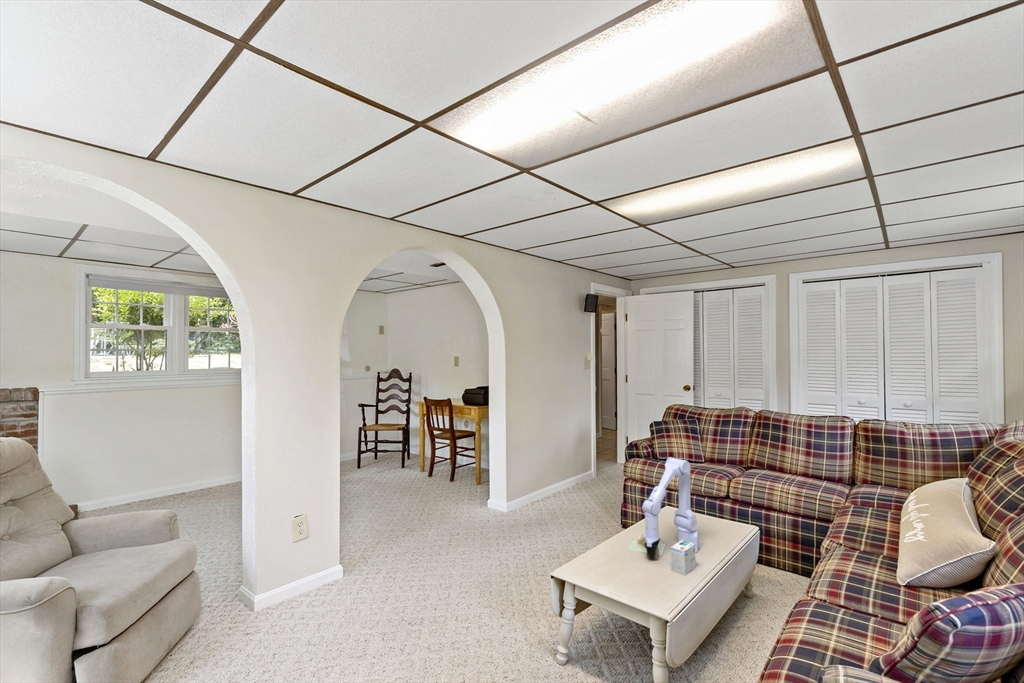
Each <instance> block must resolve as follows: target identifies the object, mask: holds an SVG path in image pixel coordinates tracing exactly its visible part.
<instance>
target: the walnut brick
mask: <svg viewBox="0 0 1024 683" xmlns="http://www.w3.org/2000/svg"><path fill="white" fill-rule="evenodd" d="M659 557H660V555H659V549H658V548H656V550H655V557H654V560H652V559H649V556H648V552H647V553H646V560H651V561H658V559H659Z"/></svg>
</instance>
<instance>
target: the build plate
mask: <svg viewBox="0 0 1024 683" xmlns="http://www.w3.org/2000/svg"><path fill="white" fill-rule="evenodd" d="M666 546H667V543H660V542H659V544H658V549H659V556H662V554H663V552H664V551H665V548H666ZM626 551H631V552H632V551H633V552H637V553H643V554H647V549H646V548H640V547H637V538H636V539H634V538H633V539H632V541H631V542H630V543H629V545H628V547H627V549H626Z"/></svg>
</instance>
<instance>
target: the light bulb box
mask: <svg viewBox="0 0 1024 683" xmlns="http://www.w3.org/2000/svg"><path fill="white" fill-rule="evenodd" d="M696 562H697V561H696V552H695V543H691V542H688V541H684V540H680V541H679V542H678V541H677V542H676V543H675V544H673V545H672V546H670V567H671V569H670V570H671V572H672V573H673V572H674V573H677V574H679V575H683V576H686V575H688V574H689V573H691V572H692V571H693V570H694V569H696V566H697V564H696Z"/></svg>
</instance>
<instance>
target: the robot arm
mask: <svg viewBox="0 0 1024 683" xmlns="http://www.w3.org/2000/svg"><path fill="white" fill-rule="evenodd" d="M664 469H665V470H664V472H663V474H662V476H661V479H660V481H659V483H658V485H656V486H654V488H653V489H652V491H651V493H650V495H649V496H648V499H646V500H644V501H643V503H642V506H641V509H642V512H643V515H644V519H645V520H644V523H645V534H642V535H643V538H646V541H647V542H645V543H644V545H645V547H646V549H647V552H648V556H649V559H648V560H650V559H652V560H651V561H655V560H654V557H655V550H656V548H658V544H659V543H660V541H661V539H660V537H659V533H660V532H659V514H660V512H661V509H662V502H663V500H664V498H665V497H666V494H667V491H666V489H667V488H668V485H669V484H670V483H671V482H672V480H673V478H674V477H677V478H678V508H677V509H676V510H675V511H674V517H673V524H674V525H675V527H676V528H675V529H677V543H678V542H679V541H680V540H684V541H688V542H691V543H695V553H698V551H699V548H700V542H699V531H698V530H696V529H697V528H698V522H697V515H696V513H695V512H693V510H692V509H691V503H692V502H691V463H690V462H689V461H688V460H686V459H680V458H676V457H672V456H669V457H668V458H667V459H666V461H665V463H664Z"/></svg>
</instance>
